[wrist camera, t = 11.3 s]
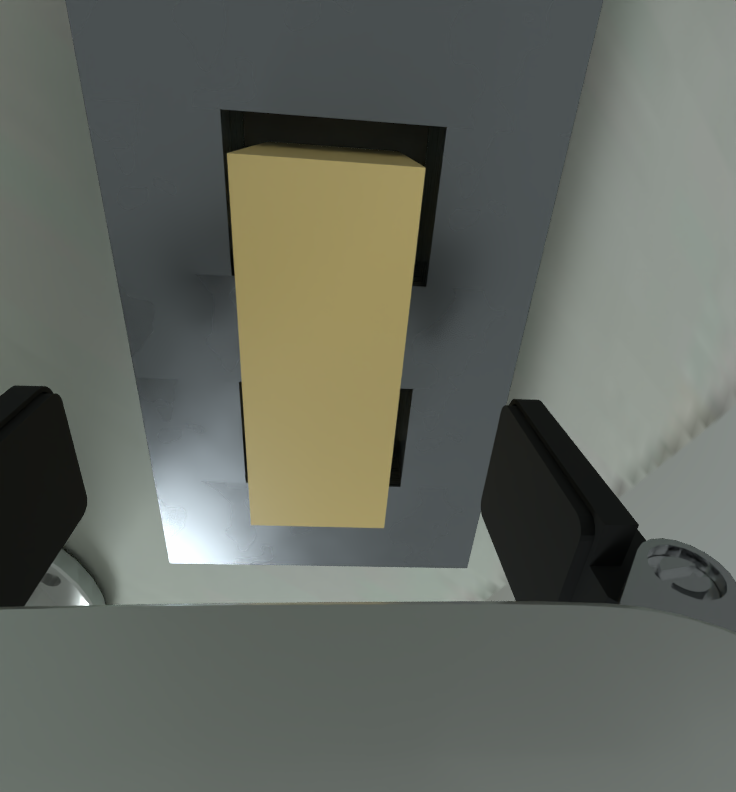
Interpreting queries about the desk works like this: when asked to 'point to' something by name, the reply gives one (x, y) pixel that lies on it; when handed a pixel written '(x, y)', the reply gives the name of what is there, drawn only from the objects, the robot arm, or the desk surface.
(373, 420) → the yellow u-shaped block
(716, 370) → the desk surface
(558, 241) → the desk surface
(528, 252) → the grey slotted board
